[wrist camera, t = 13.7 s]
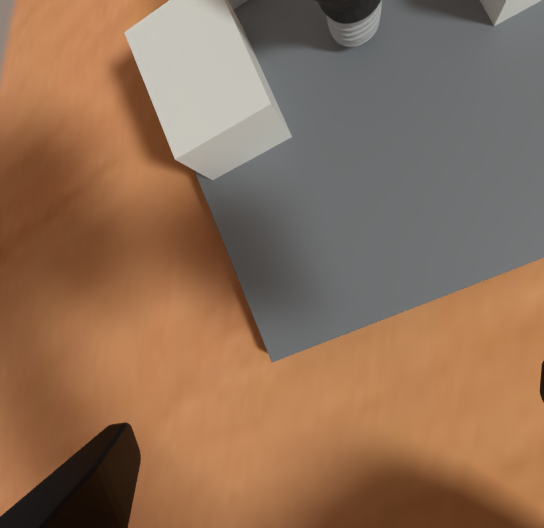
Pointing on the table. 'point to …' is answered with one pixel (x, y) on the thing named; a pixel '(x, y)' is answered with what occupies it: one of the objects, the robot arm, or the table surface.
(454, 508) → the table surface
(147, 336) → the table surface
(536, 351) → the table surface
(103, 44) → the table surface
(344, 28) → the black light bulb
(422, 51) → the board
